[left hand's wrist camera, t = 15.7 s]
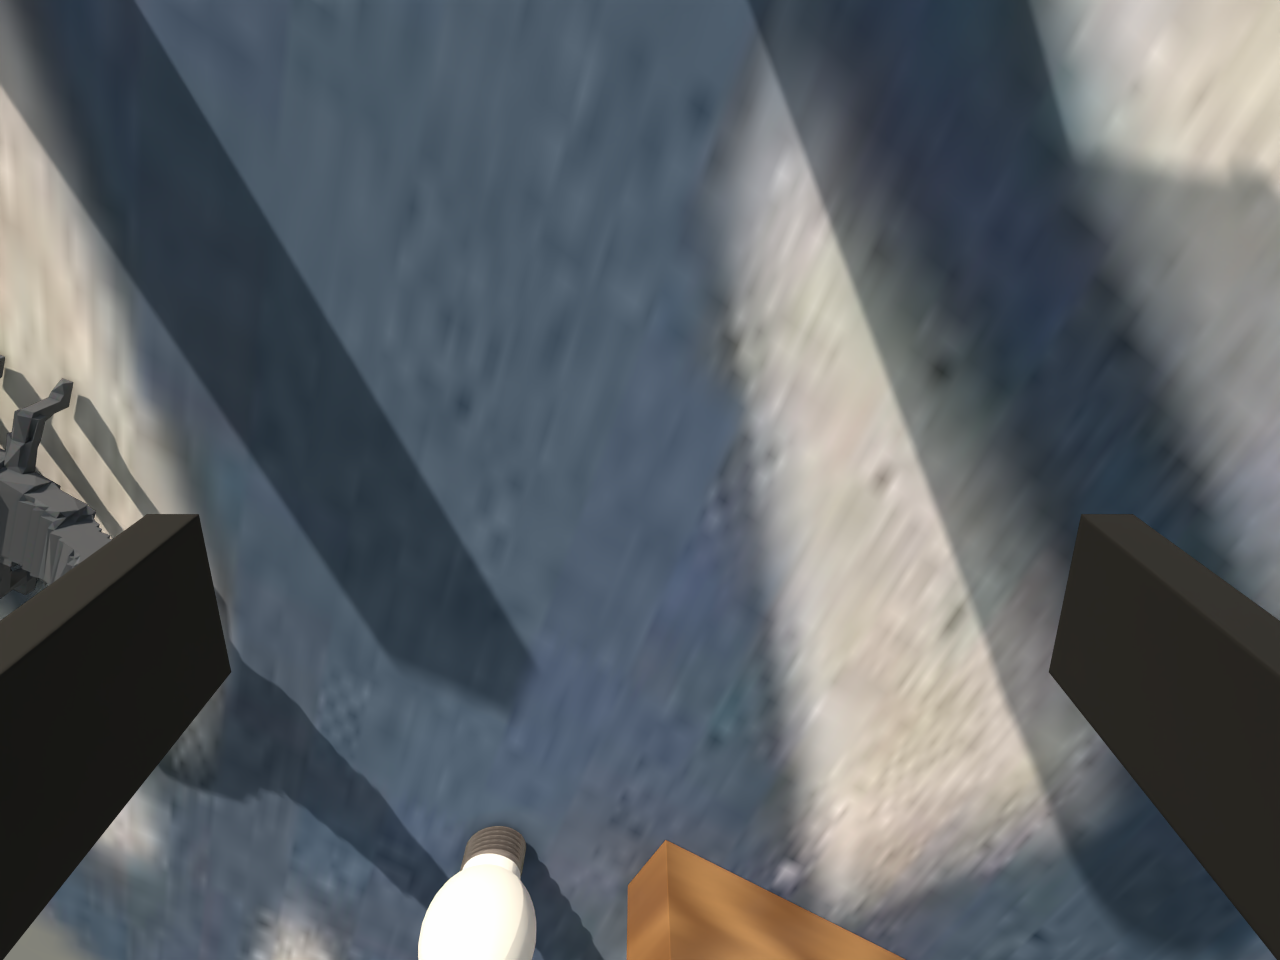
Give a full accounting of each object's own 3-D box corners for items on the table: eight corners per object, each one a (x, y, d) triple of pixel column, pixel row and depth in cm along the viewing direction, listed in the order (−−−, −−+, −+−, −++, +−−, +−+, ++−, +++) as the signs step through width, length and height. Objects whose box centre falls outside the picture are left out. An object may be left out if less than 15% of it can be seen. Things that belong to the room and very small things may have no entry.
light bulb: (501, 792, 54) (469, 941, 44) (568, 856, 56) (552, 1014, 46) (424, 842, 55) (375, 997, 45) (491, 903, 57) (459, 1066, 47)
